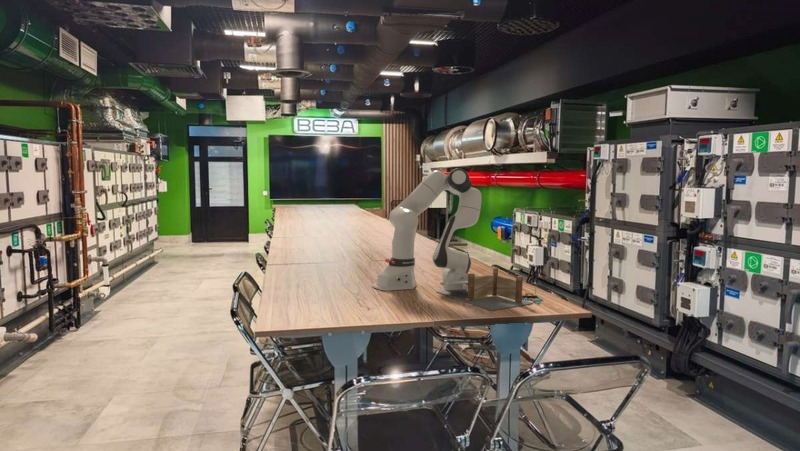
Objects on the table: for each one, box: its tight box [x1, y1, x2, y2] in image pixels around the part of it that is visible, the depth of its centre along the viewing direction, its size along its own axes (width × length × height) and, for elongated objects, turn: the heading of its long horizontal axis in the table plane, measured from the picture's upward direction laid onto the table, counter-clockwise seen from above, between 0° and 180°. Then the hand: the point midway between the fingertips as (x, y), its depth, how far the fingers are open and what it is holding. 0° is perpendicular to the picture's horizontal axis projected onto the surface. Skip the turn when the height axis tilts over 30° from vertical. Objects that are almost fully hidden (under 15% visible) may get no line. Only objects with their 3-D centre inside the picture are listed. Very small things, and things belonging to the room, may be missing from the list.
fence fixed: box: [492, 267, 524, 303], centre depth 235 cm, size 2×18×13 cm, turn 33°
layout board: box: [435, 289, 534, 312], centre depth 239 cm, size 24×39×1 cm, turn 32°
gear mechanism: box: [522, 288, 543, 305], centre depth 238 cm, size 20×5×9 cm
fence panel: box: [467, 272, 494, 299], centre depth 236 cm, size 2×15×11 cm, turn 128°
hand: (471, 288), depth 233 cm, fingers closed
